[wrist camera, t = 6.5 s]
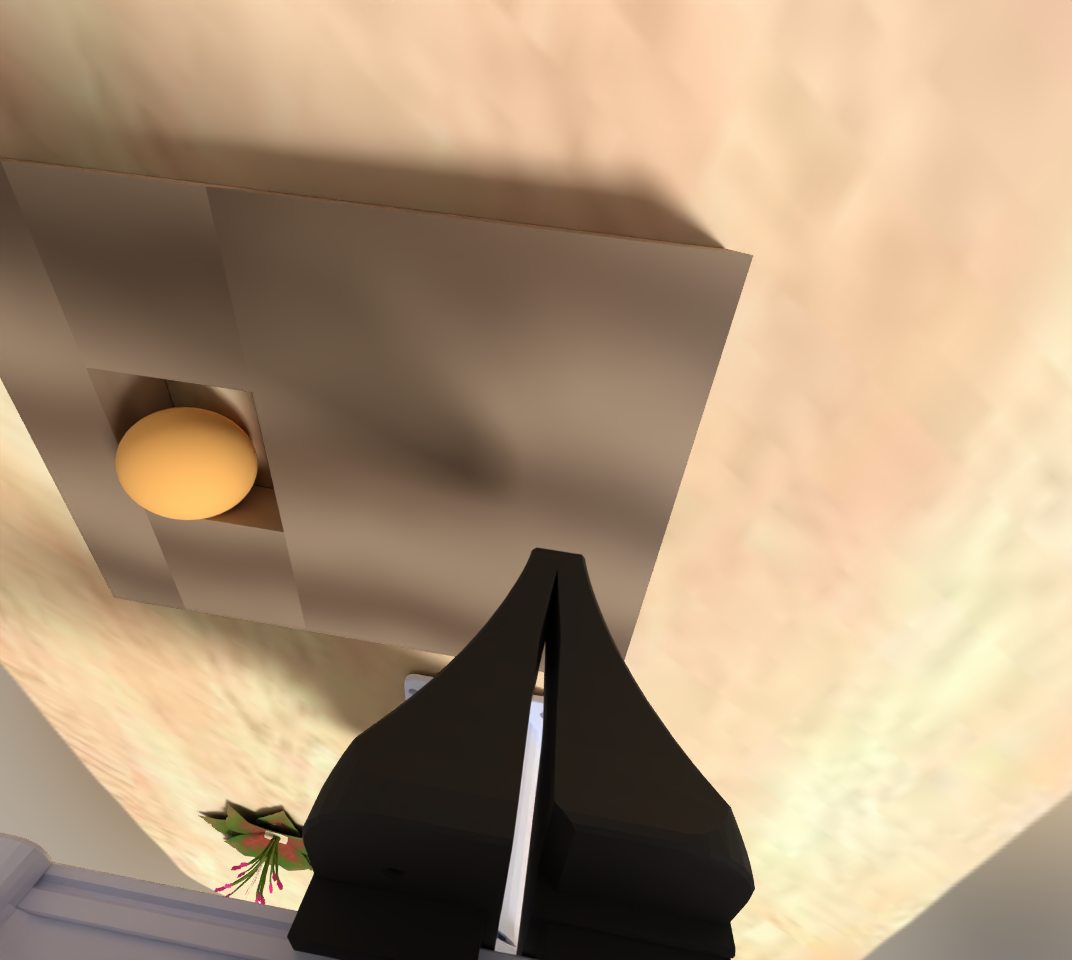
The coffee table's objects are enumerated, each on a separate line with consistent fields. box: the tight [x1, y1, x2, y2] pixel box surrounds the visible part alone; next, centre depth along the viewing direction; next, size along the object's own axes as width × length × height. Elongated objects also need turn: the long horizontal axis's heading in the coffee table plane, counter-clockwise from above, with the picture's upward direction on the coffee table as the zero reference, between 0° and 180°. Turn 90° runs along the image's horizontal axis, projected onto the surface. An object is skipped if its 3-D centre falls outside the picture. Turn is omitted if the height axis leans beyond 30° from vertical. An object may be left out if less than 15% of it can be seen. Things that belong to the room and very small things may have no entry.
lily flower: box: [198, 803, 313, 904], centre depth 36 cm, size 12×12×5 cm
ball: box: [115, 407, 258, 520], centre depth 16 cm, size 4×4×4 cm
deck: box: [0, 157, 753, 672], centre depth 16 cm, size 16×22×2 cm
